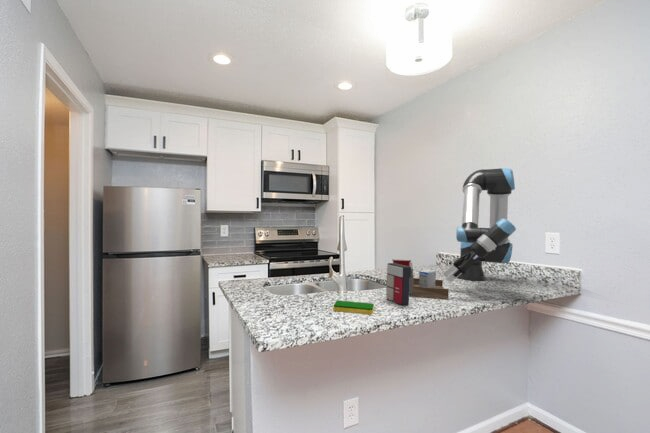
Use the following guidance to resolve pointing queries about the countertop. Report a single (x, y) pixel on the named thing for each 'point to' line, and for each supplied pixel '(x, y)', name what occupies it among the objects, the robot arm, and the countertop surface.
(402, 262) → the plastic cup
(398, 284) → the grey and red box
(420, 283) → the medicine box
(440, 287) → the wooden tray
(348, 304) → the dish sponge
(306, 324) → the countertop surface
